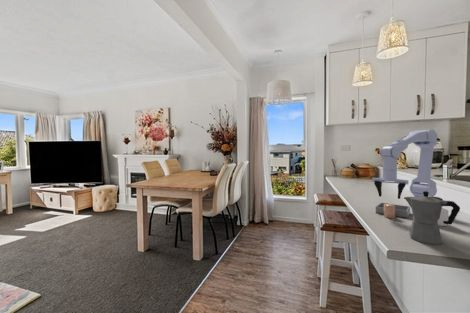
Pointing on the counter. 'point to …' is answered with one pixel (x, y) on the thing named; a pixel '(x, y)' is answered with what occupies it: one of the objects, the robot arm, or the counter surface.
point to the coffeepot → (429, 217)
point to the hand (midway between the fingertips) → (389, 197)
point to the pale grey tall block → (442, 214)
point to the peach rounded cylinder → (389, 211)
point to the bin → (399, 210)
